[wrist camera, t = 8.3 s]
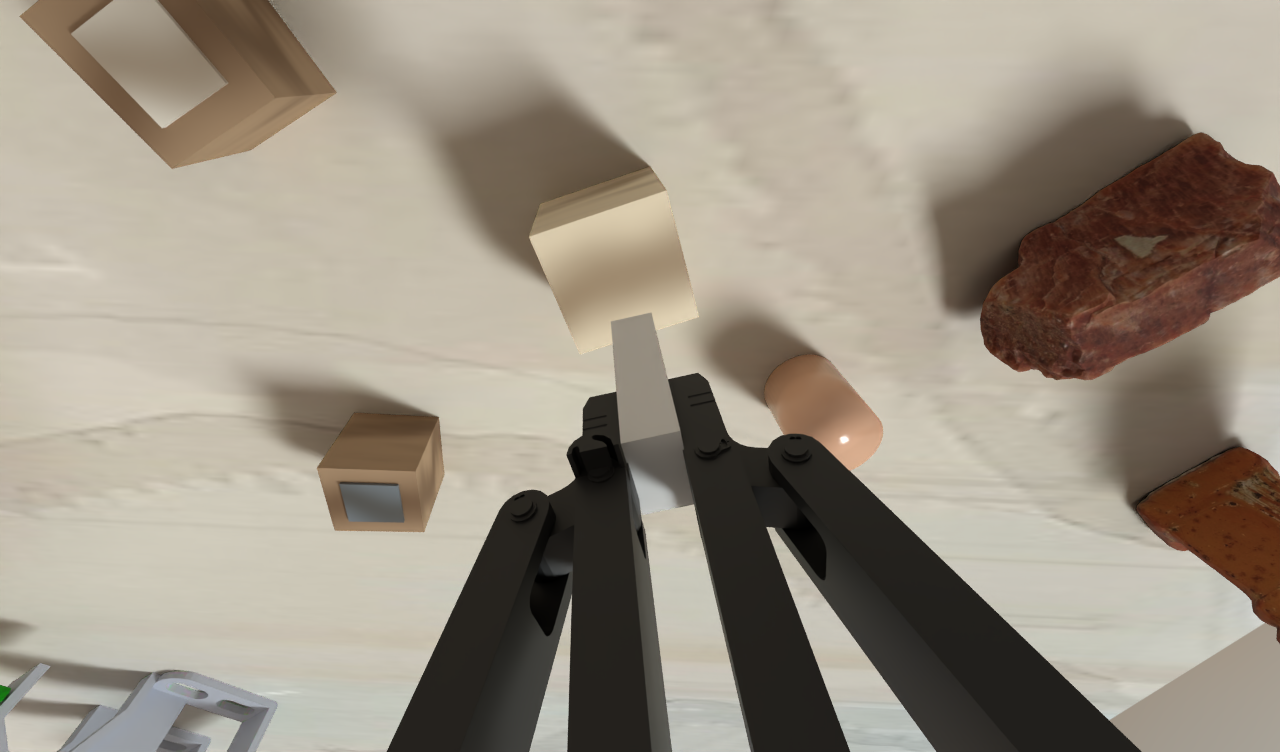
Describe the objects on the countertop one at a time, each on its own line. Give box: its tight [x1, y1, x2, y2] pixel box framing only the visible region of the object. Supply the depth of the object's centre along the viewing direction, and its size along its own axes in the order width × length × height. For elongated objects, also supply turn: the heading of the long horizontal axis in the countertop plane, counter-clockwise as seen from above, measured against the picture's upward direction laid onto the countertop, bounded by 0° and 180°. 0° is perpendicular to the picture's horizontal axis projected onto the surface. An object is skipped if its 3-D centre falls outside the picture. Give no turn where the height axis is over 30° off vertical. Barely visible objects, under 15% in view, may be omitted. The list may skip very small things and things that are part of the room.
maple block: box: [529, 167, 699, 354], centre depth 28 cm, size 7×7×7 cm
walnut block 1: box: [20, 0, 337, 169], centre depth 21 cm, size 6×6×6 cm
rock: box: [980, 133, 1280, 380], centre depth 30 cm, size 18×6×9 cm, turn 132°
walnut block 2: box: [317, 413, 444, 532], centre depth 35 cm, size 6×6×6 cm
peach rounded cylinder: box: [764, 354, 883, 471], centre depth 35 cm, size 6×6×7 cm
